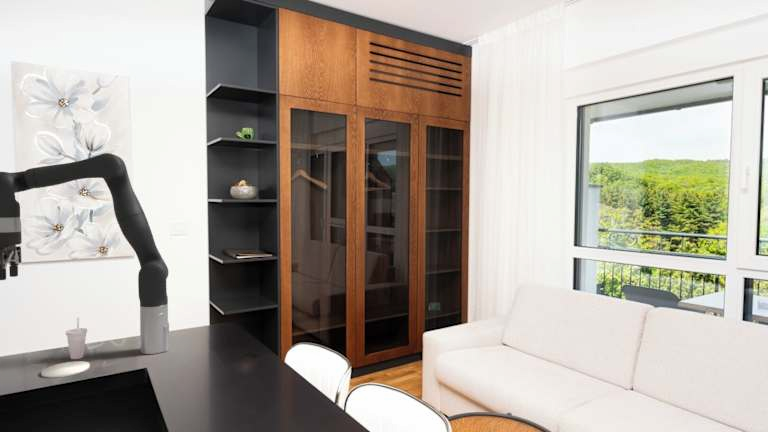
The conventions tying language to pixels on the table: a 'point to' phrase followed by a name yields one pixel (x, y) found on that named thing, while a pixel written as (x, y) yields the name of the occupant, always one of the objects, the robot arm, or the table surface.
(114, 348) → the table surface
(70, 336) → the smoothie
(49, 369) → the plate
